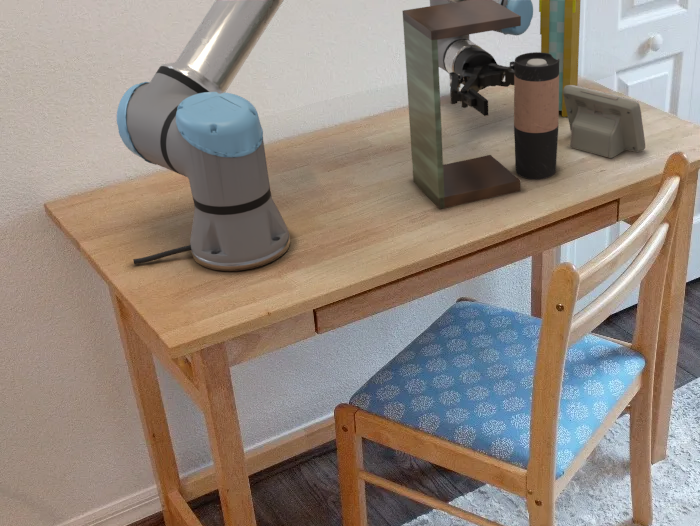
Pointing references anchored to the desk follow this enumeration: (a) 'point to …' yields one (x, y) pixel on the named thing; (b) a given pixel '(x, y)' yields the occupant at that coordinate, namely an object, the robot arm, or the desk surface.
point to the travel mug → (536, 114)
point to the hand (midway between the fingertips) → (521, 101)
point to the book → (561, 40)
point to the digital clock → (603, 121)
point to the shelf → (424, 103)
